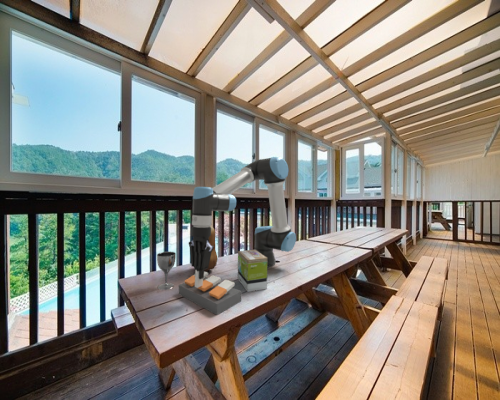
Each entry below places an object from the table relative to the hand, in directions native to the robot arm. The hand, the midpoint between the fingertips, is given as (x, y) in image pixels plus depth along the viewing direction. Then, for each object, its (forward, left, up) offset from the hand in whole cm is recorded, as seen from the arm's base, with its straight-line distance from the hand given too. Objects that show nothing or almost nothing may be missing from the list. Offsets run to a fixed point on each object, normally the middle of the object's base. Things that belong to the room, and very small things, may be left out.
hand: (198, 286), depth 81 cm
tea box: (-27, +5, -7) cm, 29 cm away
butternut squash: (-23, -25, -7) cm, 35 cm away
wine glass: (+1, -23, -7) cm, 24 cm away
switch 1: (-5, -8, -2) cm, 10 cm away
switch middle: (-5, 0, -2) cm, 6 cm away
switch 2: (-5, +8, -2) cm, 10 cm away
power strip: (-10, 0, -7) cm, 12 cm away
